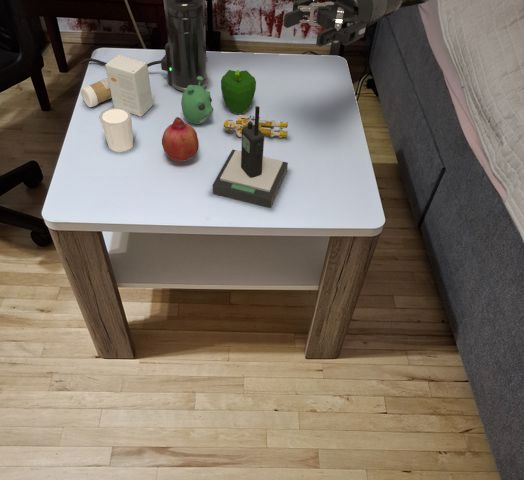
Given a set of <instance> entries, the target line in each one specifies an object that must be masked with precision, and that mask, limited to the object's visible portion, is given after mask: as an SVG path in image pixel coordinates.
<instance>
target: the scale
mask: <svg viewBox="0 0 524 480" xmlns="http://www.w3.org/2000/svg"><path fill="white" fill-rule="evenodd" d="M288 165H289V162H286V161H284V160H281V159H277V158H271V157H268V156H264V155H263V163H262V174H261V175H259V176H256V177H253V178H251V177H249V176H248V175H247V174H246V173H245V171H244V170H243V169H242V168H241V150H239V149H232V150H231V151H230V153H229V155H228V157H227V158H226V160H225V162H224V164H223V165H222V167H221V169H220V171H219V173H218V174H217V176H216V178H215V180H214V182H213V184H212V194H213V195H217V196H220V197H225V198H228V199H231V200H236V201H239V202H245V203H248V204H252V205H256V206H260V207H265V208H268V209H272V206H273V205H274V202H275V200H276V198H277V195H278V193H279V190H280V188H281V186H282V184H283V182H284V179H285V177H286V175H287V172H288V167H289V166H288Z"/></svg>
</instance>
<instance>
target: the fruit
mask: <svg viewBox="0 0 524 480" xmlns="http://www.w3.org/2000/svg"><path fill="white" fill-rule="evenodd" d="M163 131H164V132H163V134H162V136H161V137H162V138H161V146H162V149H163V151H164V153H165V155H166V156H167V157H168V158H169V159H170V160H172V161H173V162H185V161H189V160H190V159H192V158H194V157H195V156H196V155H197V154H198V151H199V148H200V142H199V137H198V133H197V130H196V129H195V128H194V127H193V126H192V125H190V124H189V123H185V122H184V120H183V119H182V117H179V116H177V117H175V118H174V120H173V122H172V123H171V124H169V125H167V127H166V128H165V130H163Z"/></svg>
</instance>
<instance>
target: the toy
mask: <svg viewBox="0 0 524 480" xmlns="http://www.w3.org/2000/svg"><path fill="white" fill-rule="evenodd" d="M248 122H252V123H253V125H255V115H250V114H248V115H246V114H238V115H237V119H236V120H233V119H226V120H225V121H224V122H223V128H224V129H225V130H226V131H227V132H229V133H230V134H233V132H235V134H236V137H237V138H242V128H243V127H246V126H248ZM275 127H277V128H279V131H275ZM288 127H289V122H288V121H287V122H284V121H280V122H276V120H275V119H272V120H271V121H269V120H264V119H261V117H260V116H259V128H258V129H259V130H260V131H261V132H262V133H263V134H264V136H267V137H268V136H269V137H270V138H271V139H272V138H274V137H278V138H279V139H282V138H287V136H288V134H289V133H288V131H284V132H283V129H287V128H288Z"/></svg>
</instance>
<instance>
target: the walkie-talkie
mask: <svg viewBox="0 0 524 480" xmlns="http://www.w3.org/2000/svg"><path fill="white" fill-rule="evenodd" d="M260 108H261V107H260V106H258V105H257V106H255V107H254V116H255V125H253V123H252V122H248V126H246V127H243V128H242V137H241V150H240V151H241V168H242V169H243V170H244V171H245V173H246V174H247V175H248V176H249V177H251V178H253V177H256V176H259V175H261V174H262V163H263V156H264V146H265V145H264V144H265V135H264V134H263V133H262V132H261V131H260V130H259V129H258V128H259V117H260V110H261V109H260Z"/></svg>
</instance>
